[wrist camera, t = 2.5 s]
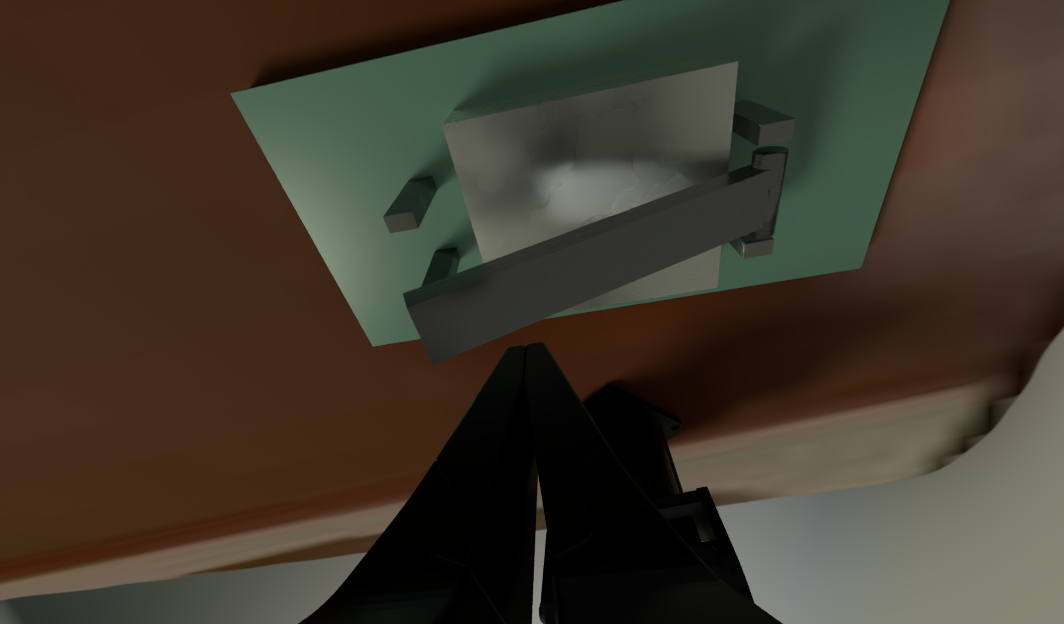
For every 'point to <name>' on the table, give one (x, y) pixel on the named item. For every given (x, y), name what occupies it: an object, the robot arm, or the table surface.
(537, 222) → the heat sink
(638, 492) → the robot arm
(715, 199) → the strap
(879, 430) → the table surface
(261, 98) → the circuit board
